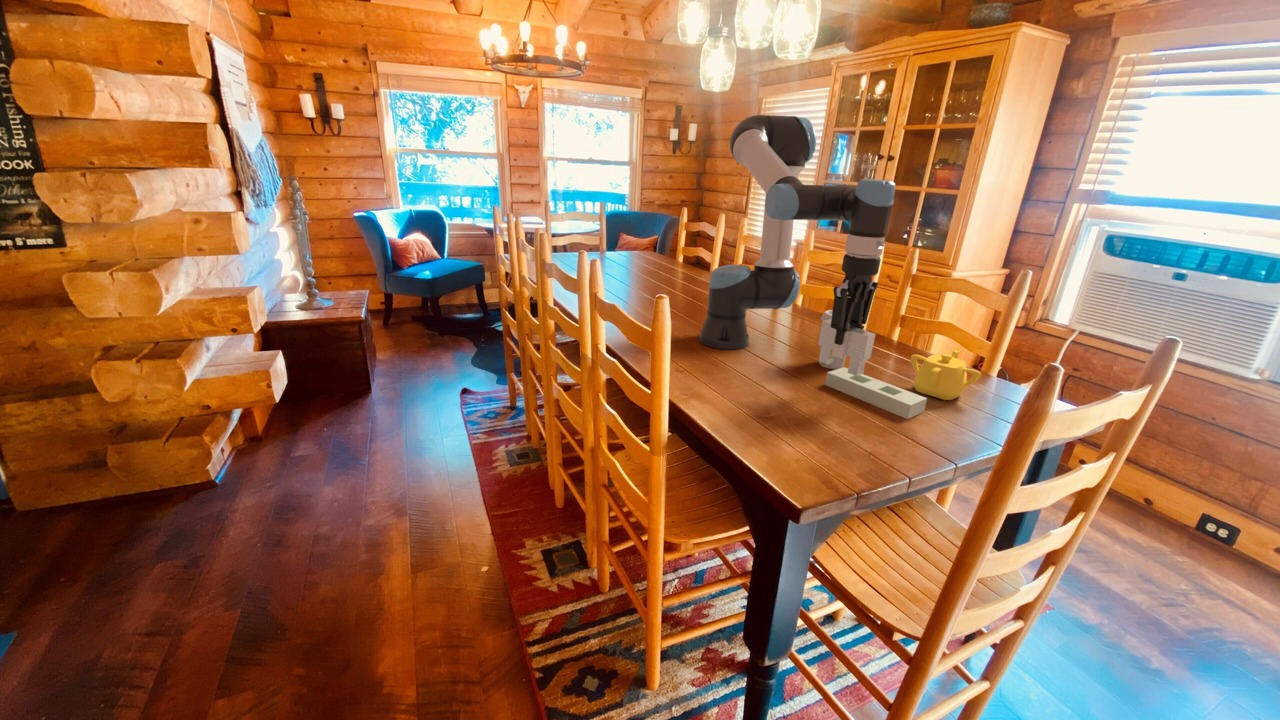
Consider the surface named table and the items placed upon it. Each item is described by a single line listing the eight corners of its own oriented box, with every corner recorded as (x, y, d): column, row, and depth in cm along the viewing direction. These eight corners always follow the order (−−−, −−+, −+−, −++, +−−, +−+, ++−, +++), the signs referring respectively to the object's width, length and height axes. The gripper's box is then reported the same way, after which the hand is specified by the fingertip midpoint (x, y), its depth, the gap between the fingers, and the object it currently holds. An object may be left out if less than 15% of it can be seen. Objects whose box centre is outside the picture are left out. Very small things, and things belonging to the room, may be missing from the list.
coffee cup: (844, 359, 152) (853, 310, 146) (853, 372, 143) (863, 319, 138) (810, 357, 153) (818, 307, 147) (817, 370, 144) (826, 317, 138)
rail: (825, 384, 134) (827, 372, 133) (841, 379, 138) (844, 367, 137) (907, 419, 118) (910, 405, 117) (923, 411, 122) (927, 398, 120)
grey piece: (815, 360, 127) (822, 320, 123) (822, 357, 129) (829, 319, 125) (859, 377, 118) (868, 336, 115) (866, 375, 120) (875, 333, 116)
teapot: (899, 380, 139) (908, 343, 136) (949, 382, 139) (959, 346, 135) (922, 402, 127) (932, 363, 123) (977, 405, 126) (989, 366, 122)
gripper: (856, 261, 106) (835, 367, 115) (899, 255, 115) (876, 354, 124) (825, 254, 112) (807, 356, 121) (868, 249, 121) (849, 344, 130)
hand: (842, 355), depth 122 cm, fingers closed on grey piece, 3 cm apart
